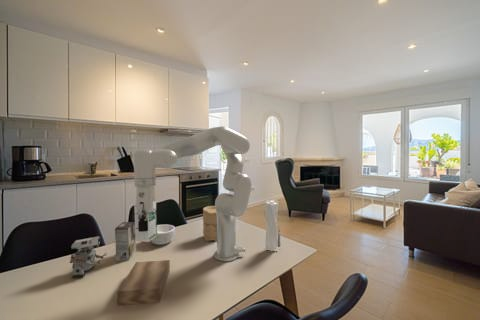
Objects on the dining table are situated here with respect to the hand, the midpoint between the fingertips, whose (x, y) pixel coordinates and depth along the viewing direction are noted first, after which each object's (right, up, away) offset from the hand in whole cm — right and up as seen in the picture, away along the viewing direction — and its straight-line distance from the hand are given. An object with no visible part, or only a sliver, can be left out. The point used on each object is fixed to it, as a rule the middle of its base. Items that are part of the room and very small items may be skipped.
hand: (146, 227), depth 87 cm
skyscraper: (+54, -23, +34) cm, 67 cm away
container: (+20, -21, +49) cm, 58 cm away
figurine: (-30, -23, +11) cm, 39 cm away
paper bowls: (-9, -22, +43) cm, 49 cm away
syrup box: (0, -5, 0) cm, 5 cm away
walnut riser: (0, -24, +1) cm, 24 cm away
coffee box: (-21, -23, +25) cm, 40 cm away
